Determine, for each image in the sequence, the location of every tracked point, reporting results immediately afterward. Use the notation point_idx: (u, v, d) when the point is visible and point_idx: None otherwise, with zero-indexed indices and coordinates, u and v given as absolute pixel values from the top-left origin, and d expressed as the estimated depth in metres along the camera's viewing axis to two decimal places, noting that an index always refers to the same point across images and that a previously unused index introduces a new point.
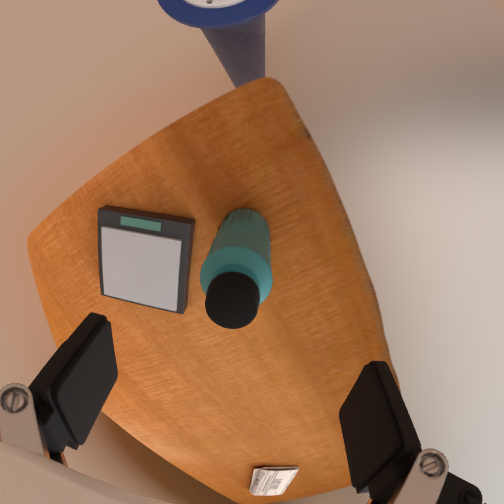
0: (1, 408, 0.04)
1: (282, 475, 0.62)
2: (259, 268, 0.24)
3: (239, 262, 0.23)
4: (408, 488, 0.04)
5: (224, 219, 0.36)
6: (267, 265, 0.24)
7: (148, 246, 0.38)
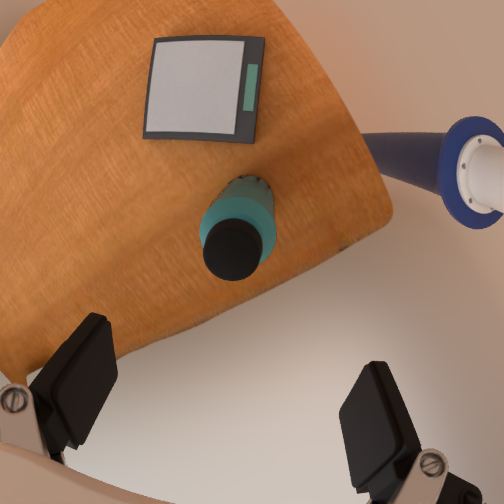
0: (1, 408, 0.04)
1: None
2: None
3: (264, 242, 0.22)
4: (408, 488, 0.04)
5: (262, 181, 0.34)
6: (258, 264, 0.24)
7: (224, 97, 0.30)
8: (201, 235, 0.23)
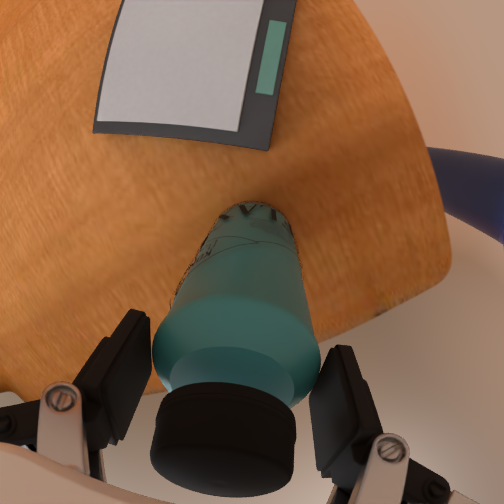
0: (47, 408, 0.05)
1: None
2: None
3: (293, 398, 0.09)
4: (362, 470, 0.05)
5: (279, 215, 0.20)
6: None
7: (225, 68, 0.17)
8: (155, 365, 0.10)
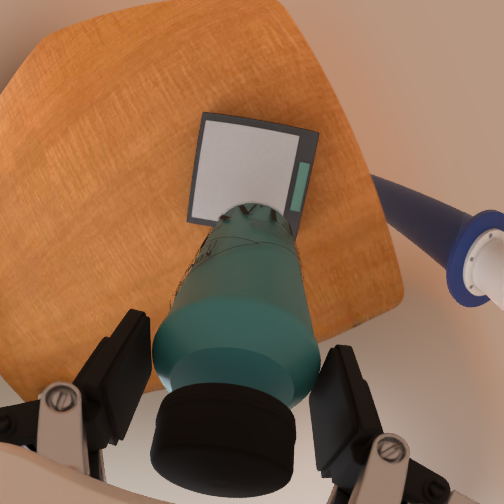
0: (47, 408, 0.05)
1: None
2: None
3: (293, 399, 0.09)
4: (362, 470, 0.05)
5: (279, 216, 0.20)
6: None
7: (273, 195, 0.34)
8: (155, 366, 0.10)
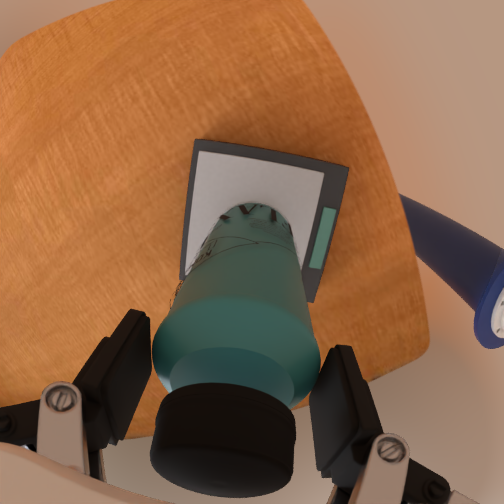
0: (47, 408, 0.05)
1: None
2: None
3: (293, 399, 0.09)
4: (362, 470, 0.05)
5: (279, 215, 0.20)
6: None
7: None
8: (155, 366, 0.10)
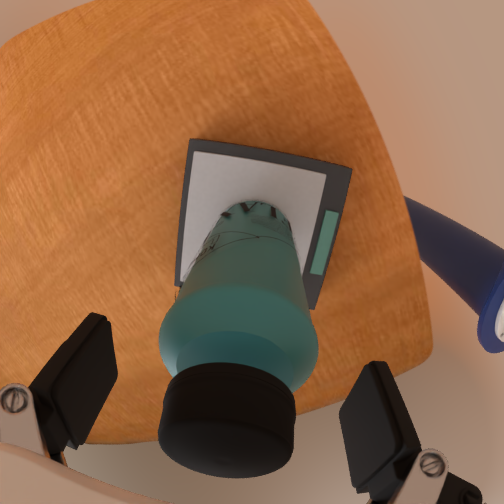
0: (1, 408, 0.04)
1: None
2: None
3: (292, 383, 0.10)
4: (408, 488, 0.04)
5: (278, 213, 0.21)
6: None
7: None
8: (162, 353, 0.10)
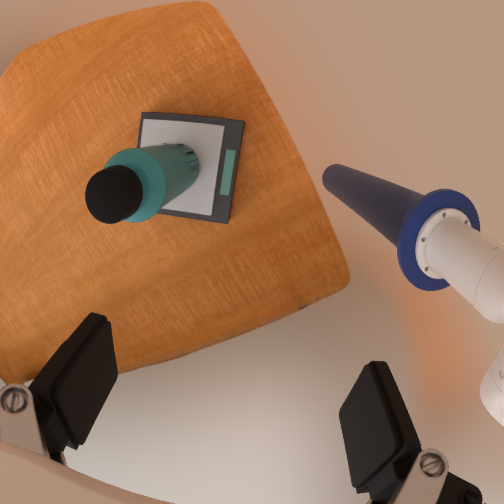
0: (1, 408, 0.04)
1: None
2: (147, 211, 0.22)
3: (151, 191, 0.21)
4: (408, 488, 0.04)
5: (187, 148, 0.32)
6: (150, 216, 0.23)
7: (203, 181, 0.37)
8: None
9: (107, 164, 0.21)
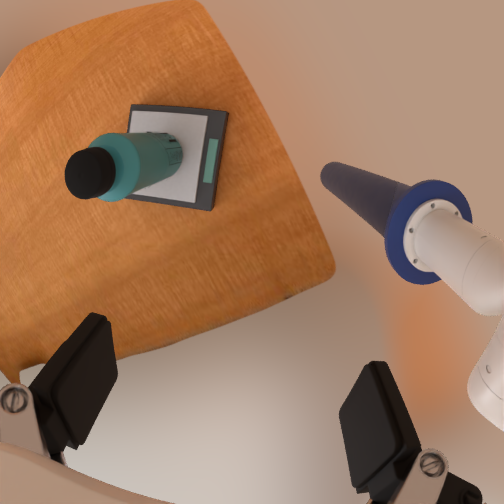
0: (1, 408, 0.04)
1: None
2: (121, 190, 0.23)
3: (125, 171, 0.22)
4: (408, 488, 0.04)
5: (171, 136, 0.33)
6: (125, 196, 0.24)
7: (187, 169, 0.38)
8: None
9: (88, 148, 0.22)
